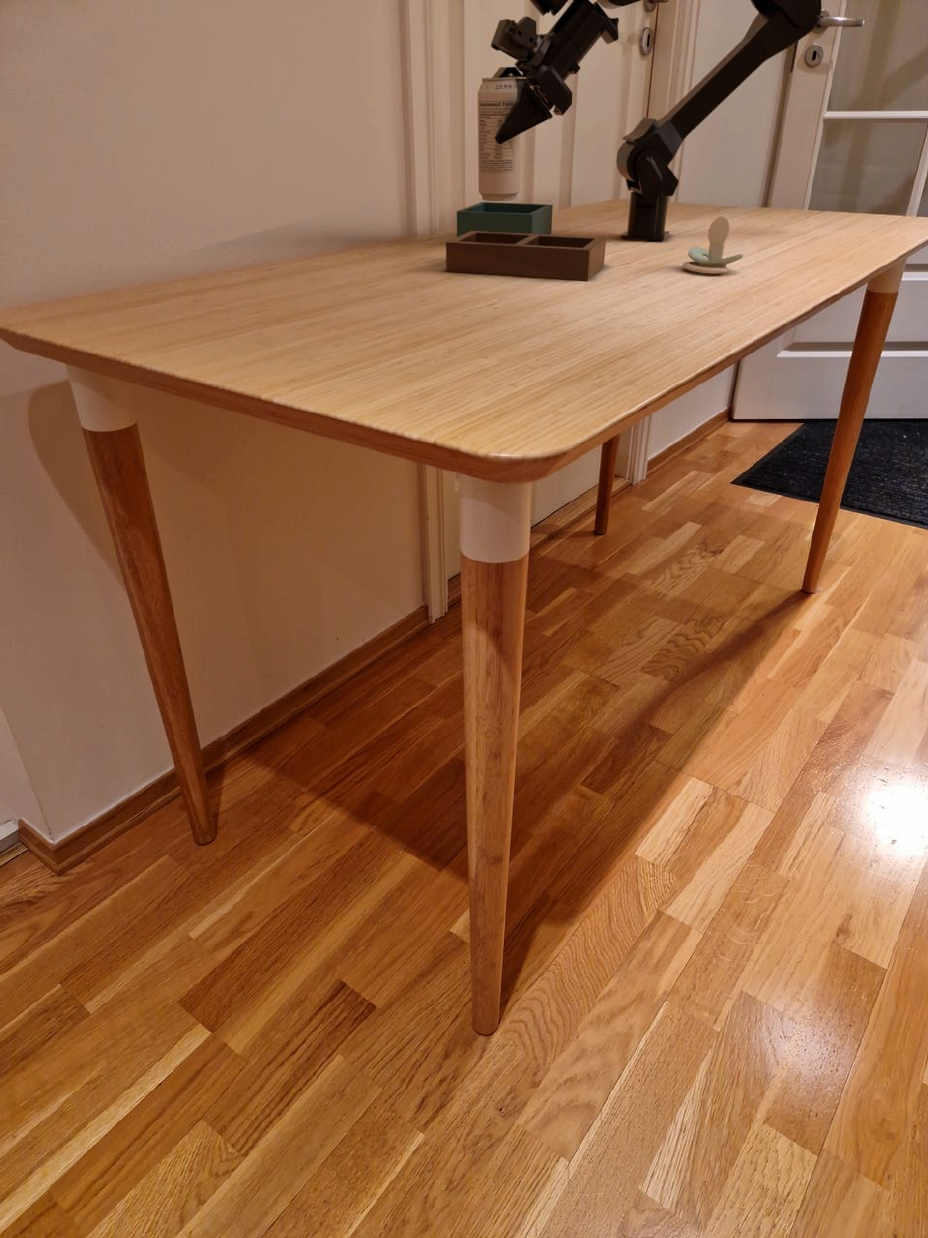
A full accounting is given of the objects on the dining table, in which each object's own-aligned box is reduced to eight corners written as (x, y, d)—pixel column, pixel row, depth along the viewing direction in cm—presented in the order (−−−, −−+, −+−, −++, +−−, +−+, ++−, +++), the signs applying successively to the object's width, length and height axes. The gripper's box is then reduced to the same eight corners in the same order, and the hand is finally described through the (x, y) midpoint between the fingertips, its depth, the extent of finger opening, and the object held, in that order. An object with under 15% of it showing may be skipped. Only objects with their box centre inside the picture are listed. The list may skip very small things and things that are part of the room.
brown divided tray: (471, 258, 116) (471, 230, 114) (604, 266, 111) (606, 237, 109) (446, 271, 108) (445, 241, 106) (587, 280, 103) (589, 249, 101)
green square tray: (481, 232, 135) (481, 201, 132) (551, 236, 131) (552, 204, 129) (456, 244, 126) (456, 210, 123) (531, 248, 122) (532, 214, 120)
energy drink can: (525, 196, 124) (527, 76, 116) (510, 202, 120) (511, 77, 111) (488, 195, 126) (487, 77, 118) (472, 200, 122) (470, 78, 114)
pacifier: (716, 279, 104) (746, 271, 107) (724, 224, 100) (754, 217, 103) (670, 270, 109) (700, 263, 112) (676, 217, 105) (706, 211, 108)
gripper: (505, -2, 118) (433, 93, 122) (553, -14, 103) (469, 94, 107) (555, 64, 124) (485, 152, 128) (607, 61, 109) (526, 162, 113)
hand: (490, 140), depth 119 cm, fingers closed on energy drink can, 6 cm apart
